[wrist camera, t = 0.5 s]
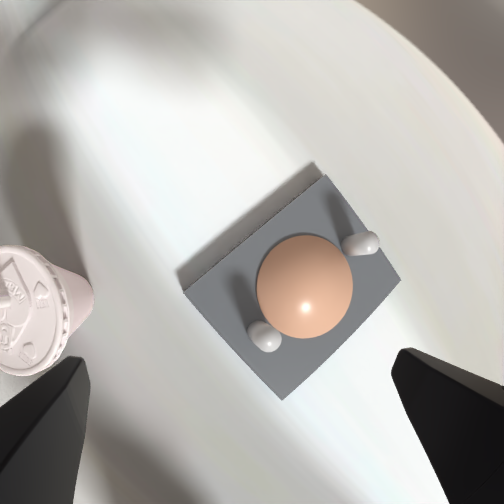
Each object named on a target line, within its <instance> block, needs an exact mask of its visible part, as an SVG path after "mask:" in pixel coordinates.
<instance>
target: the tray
mask: <svg viewBox="0 0 504 504" xmlns="http://www.w3.org/2000/svg"><path fill="white" fill-rule="evenodd" d="M400 281H401V279H400V277H399V276H398V274H397V273H396V271H395V270H394V268H393V267H392V265H391V264H390V262H389V261H388V259H387V258H386V256H385V255H384V253H383V252H382V250H381V249H380V247H379V238H378V236H377V235H376V234H375V233H374V232H372V231H368V230H367V228H366V227H365V226H364V224H363V223H362V221H361V220H360V219H359V217H358V216H357V215H356V213H355V212H354V210H353V209H352V208H351V206H350V205H349V204H348V202H347V201H346V200H345V198H344V197H343V196H342V194H341V193H340V192H339V190H338V189H337V188H336V187H335V185H334V184H333V183H332V181H331V180H330V179H329V178H328V176H327V175H326V174H325V175H324V176H323V177H321V178H320V179H318V180H317V181H316V182H315V183H313V184H312V185H311V186H310V187H309V188H307V189H306V190H305V191H304V192H302V193H301V194H300V195H299V196H298V197H296V198H295V199H294V200H293V201H292V202H290V203H289V204H288V205H287V206H285V207H284V208H283V209H282V210H281V211H279V212H278V213H277V214H276V215H274V216H273V217H272V218H271V219H270V220H268V221H267V222H266V223H265V224H264V225H262V226H261V227H260V228H259V229H258V230H256V231H255V232H254V233H253V234H252V235H250V236H249V237H248V238H247V239H246V240H244V241H243V242H242V243H241V244H240V245H238V246H237V247H236V248H235V249H234V250H232V251H231V252H230V253H229V254H228V255H226V256H225V257H224V258H223V259H222V260H220V261H219V262H218V263H217V264H216V265H214V266H213V267H212V268H211V269H210V270H208V271H207V272H206V273H205V274H204V275H202V276H201V277H200V278H199V279H198V280H197V281H195V282H194V283H193V284H192V285H191V286H189V287H188V288H187V289H186V290H185V291H184V292H183V293H184V294H185V296H186V297H187V298H188V299H189V300H190V302H191V303H192V304H193V305H194V306H195V307H196V309H197V310H198V311H199V312H200V313H201V314H202V315H203V317H204V318H205V319H206V320H207V321H208V322H209V323H210V325H211V326H212V327H213V328H214V329H215V330H216V331H217V332H218V334H219V335H220V336H221V337H222V338H223V339H224V340H225V341H226V342H227V344H228V345H229V346H230V347H231V348H232V349H233V350H234V351H235V352H236V353H237V354H238V356H239V357H240V358H241V359H242V360H243V361H244V362H245V363H246V364H247V365H248V366H249V367H250V368H251V369H252V370H253V372H254V373H255V374H256V375H257V376H258V377H259V378H260V379H261V380H262V381H263V382H264V383H265V384H266V385H267V386H268V387H269V388H270V389H271V390H272V391H273V392H274V393H275V394H276V395H277V396H278V397H279V398H280V399H281V400H283V399H284V398H285V397H287V396H288V395H289V394H290V393H291V392H292V391H293V390H295V389H296V388H297V387H298V386H299V385H300V384H301V383H302V382H303V381H305V380H306V379H307V378H308V377H309V376H310V375H311V374H312V373H313V372H314V371H315V370H316V369H317V368H319V367H320V366H321V365H322V364H323V363H324V362H325V361H326V360H327V359H328V358H329V357H330V356H331V355H332V354H333V353H334V352H335V351H336V350H337V349H338V348H339V347H340V346H341V345H342V344H343V343H344V342H345V341H346V340H347V339H348V338H349V337H350V336H351V335H352V334H353V333H354V332H355V331H356V330H357V329H358V328H359V327H360V325H361V324H362V323H363V322H364V321H365V320H366V319H367V318H368V317H369V316H370V315H371V314H372V313H373V311H374V310H375V309H376V308H377V307H378V306H379V305H380V304H381V303H382V301H383V300H384V299H385V298H386V297H387V296H388V295H389V294H390V292H391V291H392V290H393V289H394V288H395V287H396V285H397V284H398V283H399V282H400Z"/></svg>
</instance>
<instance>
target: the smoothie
mask: <svg viewBox="0 0 504 504" xmlns="http://www.w3.org/2000/svg"><path fill="white" fill-rule="evenodd" d="M93 306H94V293H93V290H92V287H91V285H90V284H89V282H88V281H87V280H86V279H85V278H84V277H82V276H80V275H78V274H76V273H73V272H70V271H68V270H66V269H63V268H61V267H58V266H56V265H53V264H51V263H50V262H49V261H48V260H47V259H45V258H44V257H43V256H42V255H41V254H40V253H39V252H37V251H35V250H32V249H30V248H28V247H26V246H17V245H2V246H0V370H2V371H4V372H6V373H9V374H11V375H15V376H29V375H33V374H36V373H38V372H40V371H42V370H44V369H46V368H48V367H50V366H51V365H52V364H53V363H54V362H55V361H56V360H57V359H58V358H59V357H60V355H61V353H62V351H63V349H64V347H65V345H66V342H67V339H68V338H69V336H70V335H71V334H72V333H73V332H74V331H75V330H76V329H77V328H78V327H79V326H80V325H81V324H82V322H83V321H84V320H85V319H86V318H87V317H88V316H89V315H90V313H91V312H92V309H93Z"/></svg>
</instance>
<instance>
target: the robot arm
mask: <svg viewBox="0 0 504 504" xmlns="http://www.w3.org/2000/svg"><path fill="white" fill-rule="evenodd" d="M391 376H392V379H393V381H394V384H395V386H396V389H397V391H398V394H399V396H400V399H401V401H402V404H403V406H404V409H405V411H406V414H407V416H408V418H409V420H410V422H411V424H412V426H413V428H414V430H415V432H416V434H417V436H418V438H419V440H420V442H421V444H422V446H423V448H424V450H425V452H426V454H427V456H428V458H429V460H430V462H431V465H432V467H433V469H434V471H435V473H436V475H437V477H438V479H439V482H440V484H441V486H442V488H443V490H444V493H445V495H446V497H447V499H448V502H449V504H504V386H501V385H500V384H497V383H495V382H492V381H490V380H487V379H485V378H483V377H480V376H478V375H475V374H473V373H471V372H468V371H466V370H464V369H461V368H459V367H456V366H454V365H452V364H449V363H447V362H445V361H442V360H440V359H438V358H435V357H433V356H431V355H428V354H426V353H424V352H421V351H419V350H417V349H415V348H404V349H401V350H400V351H399V353H398V355H397V357H396V360H395V362H394V365H393V367H392V370H391ZM89 395H90V380H89V376H88V372H87V368H86V364H85V361H84V359H83V358H82V357H75V356H68V357H67V358H65V359H64V360H63V361H61V362H60V363H58V364H57V365H56V366H54V367H53V368H52V369H50V370H49V371H48V372H46V373H45V374H44V375H42V376H41V377H40V378H38V379H37V380H36V381H34V382H33V383H32V384H30V385H29V386H28V387H26V388H25V389H24V390H22V391H21V392H20V393H18V394H17V395H16V396H14V397H13V398H12V399H10V400H9V401H8V402H6V403H5V404H4V405H2V406H1V407H0V504H73V499H74V492H75V486H76V480H77V474H78V469H79V463H80V458H81V453H82V448H83V444H84V438H85V430H86V420H87V411H88V403H89Z"/></svg>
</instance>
